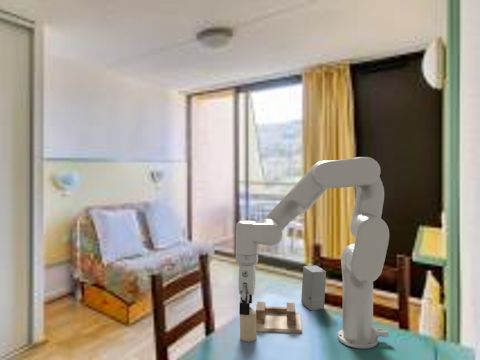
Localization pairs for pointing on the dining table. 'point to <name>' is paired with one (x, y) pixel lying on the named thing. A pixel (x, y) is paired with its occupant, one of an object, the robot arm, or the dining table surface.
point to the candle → (248, 326)
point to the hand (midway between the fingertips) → (245, 308)
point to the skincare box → (313, 287)
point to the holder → (277, 318)
